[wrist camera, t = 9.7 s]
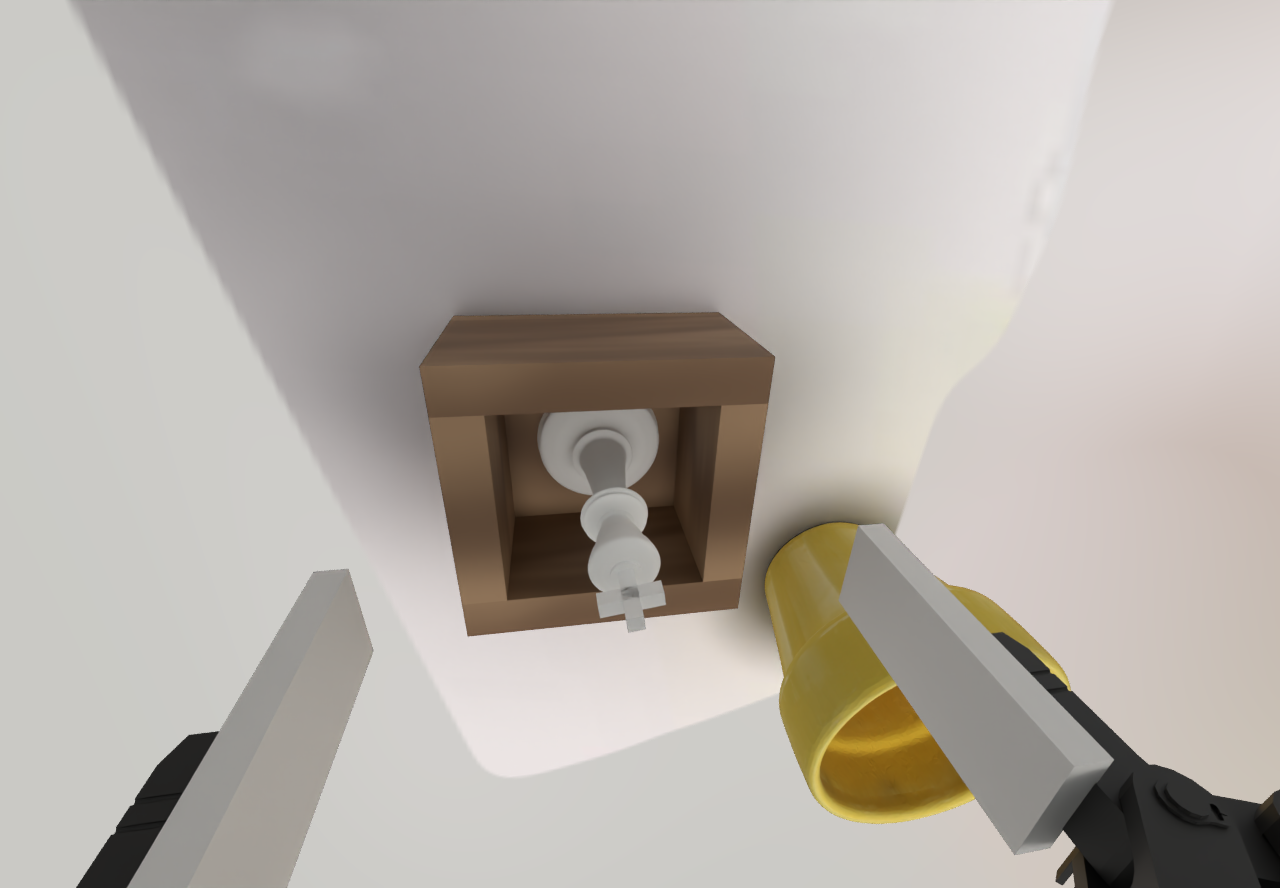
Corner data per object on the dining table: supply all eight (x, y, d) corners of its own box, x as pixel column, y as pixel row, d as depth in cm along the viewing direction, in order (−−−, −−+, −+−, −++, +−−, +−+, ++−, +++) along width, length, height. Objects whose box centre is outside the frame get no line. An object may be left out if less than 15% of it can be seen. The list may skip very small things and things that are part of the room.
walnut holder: (454, 313, 19) (419, 366, 14) (716, 310, 20) (775, 356, 15) (485, 533, 24) (467, 636, 18) (697, 517, 25) (737, 608, 20)
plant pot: (716, 649, 29) (787, 846, 21) (742, 495, 24) (847, 666, 16) (882, 633, 31) (1012, 808, 22) (936, 486, 26) (1126, 636, 18)
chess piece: (525, 391, 20) (508, 566, 11) (651, 371, 20) (732, 523, 11) (550, 497, 22) (553, 711, 13) (663, 476, 22) (737, 670, 14)
